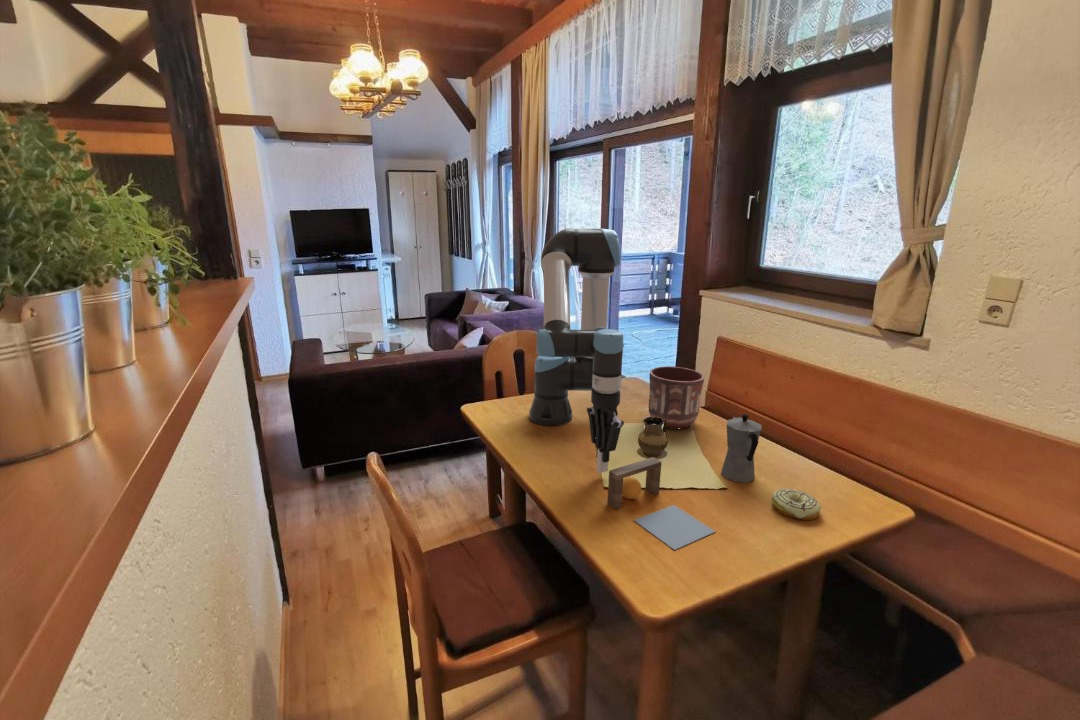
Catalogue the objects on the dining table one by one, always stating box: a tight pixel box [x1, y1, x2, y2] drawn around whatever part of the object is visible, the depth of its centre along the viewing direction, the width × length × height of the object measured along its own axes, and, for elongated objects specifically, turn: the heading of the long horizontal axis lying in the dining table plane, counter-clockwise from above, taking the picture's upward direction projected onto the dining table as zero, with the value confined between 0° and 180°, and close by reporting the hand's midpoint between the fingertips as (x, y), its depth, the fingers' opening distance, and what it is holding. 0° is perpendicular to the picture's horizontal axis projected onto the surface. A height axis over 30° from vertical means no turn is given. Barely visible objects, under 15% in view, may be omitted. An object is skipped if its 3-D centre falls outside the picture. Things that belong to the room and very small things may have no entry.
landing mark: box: [633, 504, 717, 551], centre depth 121 cm, size 13×13×1 cm
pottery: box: [648, 366, 705, 430], centre depth 178 cm, size 18×18×18 cm
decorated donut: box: [771, 488, 822, 521], centre depth 128 cm, size 10×11×4 cm
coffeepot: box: [720, 413, 762, 484], centre depth 142 cm, size 15×9×18 cm, turn 0°
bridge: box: [607, 456, 662, 510], centre depth 131 cm, size 3×14×9 cm, turn 122°
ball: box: [622, 476, 642, 500], centre depth 133 cm, size 6×6×6 cm
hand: (602, 470), depth 143 cm, fingers closed
